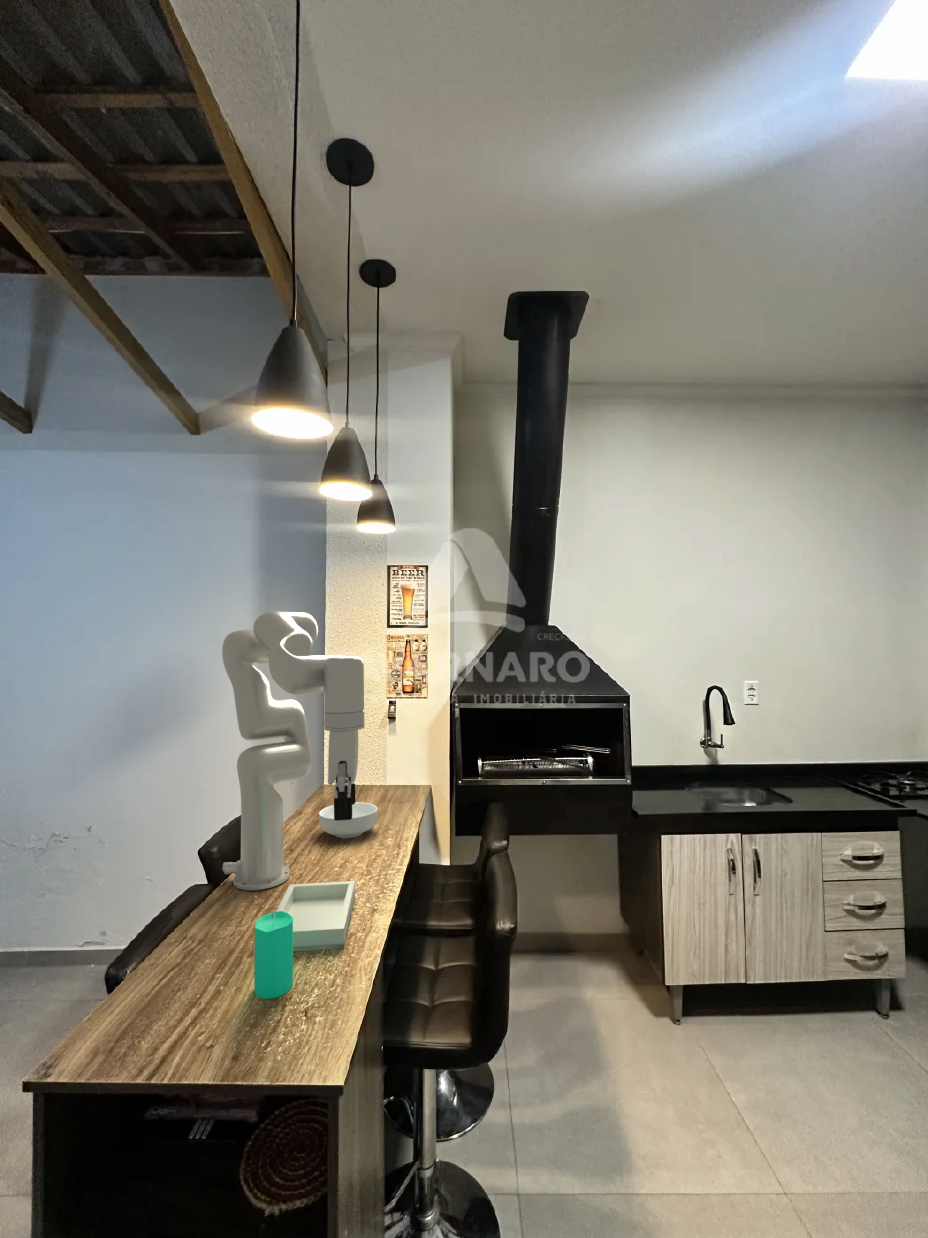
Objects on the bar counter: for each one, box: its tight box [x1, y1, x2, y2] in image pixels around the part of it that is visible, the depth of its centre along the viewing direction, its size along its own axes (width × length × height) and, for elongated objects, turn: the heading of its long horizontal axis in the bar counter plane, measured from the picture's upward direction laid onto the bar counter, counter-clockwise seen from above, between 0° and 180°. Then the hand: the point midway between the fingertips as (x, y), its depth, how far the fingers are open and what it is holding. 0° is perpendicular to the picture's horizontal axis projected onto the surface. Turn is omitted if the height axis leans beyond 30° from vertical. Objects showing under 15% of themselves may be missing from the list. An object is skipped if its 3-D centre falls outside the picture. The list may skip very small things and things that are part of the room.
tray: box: [275, 880, 356, 952], centre depth 108 cm, size 14×20×4 cm
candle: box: [253, 910, 294, 1000], centre depth 88 cm, size 6×6×12 cm
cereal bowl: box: [318, 801, 379, 839], centre depth 159 cm, size 17×17×7 cm
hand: (345, 811), depth 102 cm, fingers open, 9 cm apart
